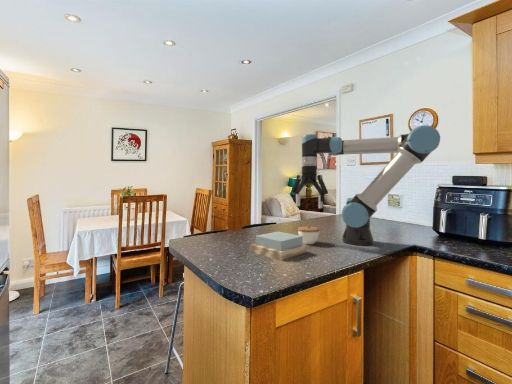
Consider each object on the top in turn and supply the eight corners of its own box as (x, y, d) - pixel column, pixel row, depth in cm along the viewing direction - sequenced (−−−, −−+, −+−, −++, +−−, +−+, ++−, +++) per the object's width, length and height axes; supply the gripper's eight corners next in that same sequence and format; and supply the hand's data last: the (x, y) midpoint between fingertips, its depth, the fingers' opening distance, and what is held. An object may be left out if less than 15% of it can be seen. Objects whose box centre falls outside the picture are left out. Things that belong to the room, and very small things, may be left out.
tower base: (306, 253, 124) (306, 244, 124) (281, 262, 112) (281, 252, 111) (276, 246, 137) (276, 238, 137) (250, 253, 124) (250, 244, 124)
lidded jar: (294, 241, 144) (294, 224, 144) (311, 239, 148) (311, 222, 148) (305, 246, 134) (305, 227, 134) (323, 244, 139) (323, 226, 138)
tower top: (302, 244, 124) (302, 236, 124) (280, 251, 114) (280, 241, 113) (277, 239, 135) (277, 231, 135) (255, 244, 124) (255, 235, 124)
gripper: (285, 166, 145) (285, 205, 146) (327, 164, 128) (326, 209, 129) (293, 166, 150) (293, 204, 152) (335, 165, 133) (334, 208, 134)
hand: (308, 207), depth 140 cm, fingers open, 13 cm apart
